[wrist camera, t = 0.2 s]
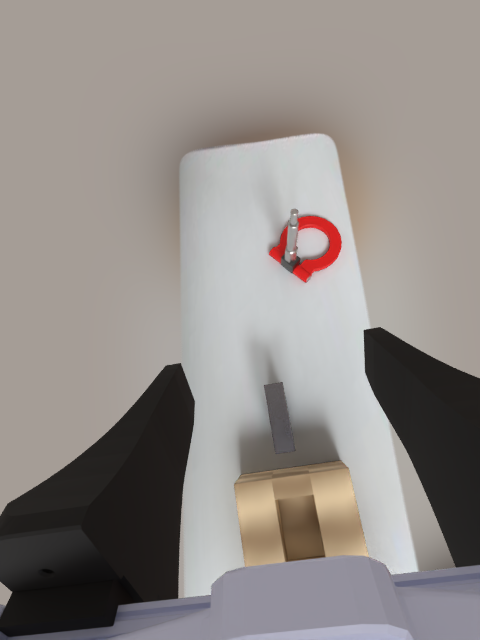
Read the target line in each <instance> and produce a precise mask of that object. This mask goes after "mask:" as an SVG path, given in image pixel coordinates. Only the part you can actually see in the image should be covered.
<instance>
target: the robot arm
mask: <svg viewBox="0 0 480 640" xmlns="http://www.w3.org/2000/svg"><path fill="white" fill-rule="evenodd" d="M364 352H365V373H366V376H367V378H368V381H369V383H370V386H371V388H372V390H373V393H374V395H375V397H376V398H377V400H378V402H379V404H380V405H381V407H382V409H383V411H384V412H385V414H386V416H387V418H388V419H389V421H390V423H391V424H392V426H393V428H394V429H395V431H396V433H397V435H398V436H399V438H400V440H401V441H402V443H403V445H404V447H405V449H406V450H407V453H408V454H409V457H410V459H411V461H412V463H413V465H414V468H415V469H416V472H417V474H418V476H419V479H420V481H421V483H422V485H423V488H424V490H425V492H426V495H427V497H428V499H429V501H430V504H431V506H432V509H433V511H434V513H435V516H436V518H437V521H438V523H439V526H440V528H441V531H442V533H443V536H444V538H445V540H446V543H447V546H448V548H449V551H450V553H451V556H452V558H453V561H454V563H455V566H456V568H448V569H440V570H430V571H421V572H412V573H403V574H394V575H391V574H390V572H389V570H388V569H387V567H386V565H385V564H383V563H381V562H380V561H377V560H374V559H372V558H369V557H367V556H358V555H341V556H333V557H324V558H316V559H307V560H299V561H290V562H282V563H273V564H265V565H257V566H248V567H243V568H239V569H235V570H232V571H228V572H226V573H225V574H223V575H222V576H221V577H220V578H218V579H217V580H216V581H215V582H214V583H213V584H212V588H211V595H206V596H197V597H188V598H179V599H178V575H179V543H180V524H181V508H182V494H183V484H184V477H185V471H186V466H187V460H188V454H189V449H190V443H191V438H192V432H193V426H194V408H195V401H194V398H193V395H192V393H191V390H190V387H189V384H188V382H187V379H186V376H185V374H184V371H183V368H182V366H181V363H179V364H173V365H167V366H165V367H164V369H163V370H162V371H161V372H160V373H159V375H158V376H157V377H156V378H155V380H154V381H153V382H152V383H151V385H150V386H149V387H148V389H147V390H146V391H145V392H144V393H143V394H142V396H141V397H140V398H139V399H138V400H137V402H136V403H135V404H134V405H133V406H132V407H131V408H130V409H129V410H128V412H127V413H126V414H125V415H124V416H123V417H122V418H121V419H120V420H119V421H118V422H117V423H116V424H115V425H114V426H113V427H112V428H111V429H110V430H109V431H108V432H107V433H106V434H105V435H104V436H103V437H102V438H100V439H99V440H98V441H97V442H96V443H95V444H93V445H92V446H91V447H90V448H88V449H87V450H86V451H85V452H84V453H82V454H81V455H80V456H79V457H77V458H76V459H75V460H74V461H72V462H71V463H70V464H68V465H67V466H65V467H64V468H63V469H61V470H60V471H58V472H57V473H56V474H54V475H53V476H51V477H50V478H48V479H47V480H45V481H44V482H42V483H41V484H39V485H38V486H36V487H34V488H33V489H31V490H29V491H28V492H26V493H25V494H23V495H21V496H20V497H18V498H17V499H15V500H13V501H11V502H10V503H8V504H7V506H6V507H5V509H4V511H3V512H2V514H1V516H0V582H1V583H3V584H4V585H5V586H6V587H7V588H8V589H10V590H11V591H12V592H13V593H12V595H11V597H10V599H9V601H8V603H7V605H6V606H4V605H0V640H480V378H477V377H475V376H472V375H470V374H467V373H465V372H462V371H460V370H457V369H456V368H453V367H451V366H449V365H447V364H445V363H443V362H441V361H439V360H437V359H435V358H433V357H431V356H429V355H427V354H425V353H424V352H422V351H420V350H418V349H416V348H415V347H413V346H411V345H410V344H408V343H406V342H404V341H402V340H401V339H399V338H398V337H396V336H394V335H393V334H391V333H389V332H388V331H386V330H384V329H383V328H381V327H378V328H373V329H367V330H364Z"/></svg>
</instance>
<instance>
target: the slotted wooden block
mask: <svg viewBox="0 0 480 640" xmlns="http://www.w3.org/2000/svg"><path fill="white" fill-rule="evenodd" d="M234 488H235V495H236V503H237V510H238V518H239V525H240V532H241V540H242V547H243V555H244V562H245V567H248V566H257V565H265V564H273V563H282V562H290V561H299V560H307V559H316V558H324V557H333V556H341V555H358V556H367V557H369V556H368V551H367V547H366V543H365V538H364V534H363V529H362V525H361V521H360V516H359V512H358V508H357V503H356V499H355V494H354V490H353V486H352V481H351V477H350V472H349V468H348V467H347V466H346V465H345V464H344V463H343V462H342V461H341V460H340V461H333V462H326V463H319V464H312V465H305V466H298V467H291V468H284V469H277V470H270V471H264V472H257V473H250V474H243V475H241V476H240V477H239V478H238V480H237V481H236V482H235V484H234Z"/></svg>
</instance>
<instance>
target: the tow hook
mask: <svg viewBox="0 0 480 640" xmlns="http://www.w3.org/2000/svg"><path fill="white" fill-rule="evenodd" d="M304 228H316V229H319V230H321V231H323V232H324V233H325V234H326V235H327V237H328V239H329V243H330V247H329V250H328V252H327V253H326V254H325V255H324V256H322V257H321V258H318V259H314V260H307V259H306V260H304V261H303V262H302V263H301V264H300V258H299V257H298V256H297V249H298V247H297V237H298V231H299V230H301V229H304ZM341 243H342V242H341V236H340V234H339V232H338V230H337V228H336V227H335V226H334V225H333V224H332V223H331V222H329V221H327V220H326V219H323V218H320V217H316V216H306V217H301V218H298V210H297V209H292V210H291V216H290V220H289V222H288V225H287V227H286V228H285V229H284V231H283V233H282V235H281V239H280V244H279V245H278V246H277V247H274V248H272V249H271V251H270V253H269V255H270V256H271V257H273V258H274V259H275V260H277V261H278V262H279V263H281V265H282V266H283V267H285V268H286V269H287V270H288V271H290V272H291V273H293V274H295V275H296V276H297V277H299V278H300V279H301V280H303V281H304V282H305V283H306V282H307V281H308V280H309V279H310V278H311V276H312V273H313V272H314V271H319V270H322V269H325V268H327V267H328V266H330V265H331V264H332V263H333V262H334V261H335V260H336V259H337V257H338V255H339V252H340V250H341Z"/></svg>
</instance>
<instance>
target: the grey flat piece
mask: <svg viewBox="0 0 480 640" xmlns="http://www.w3.org/2000/svg"><path fill="white" fill-rule="evenodd" d="M264 388H265V394H266V400H267V405H268V411H269V417H270V423H271V429H272V435H273V440H274V446H275V452H276V454H279V453H285V452H292V451H295V447H294V441H293V434H292V429H291V424H290V418H289V413H288V408H287V403H286V397H285V393H284V388H283V383H282V382H280V383H275V384H269V385H264Z"/></svg>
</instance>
